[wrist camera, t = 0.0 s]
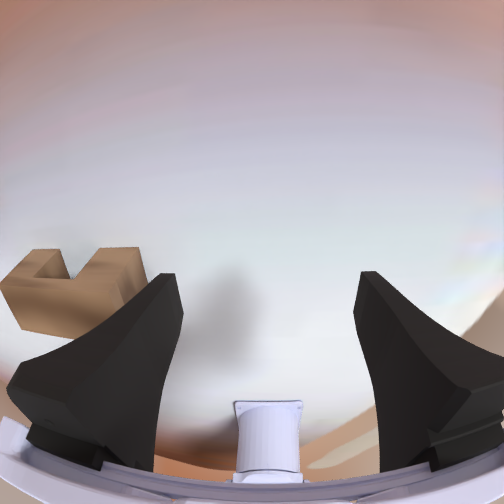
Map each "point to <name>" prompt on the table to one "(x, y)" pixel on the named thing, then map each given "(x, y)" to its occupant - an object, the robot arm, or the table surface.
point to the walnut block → (72, 290)
